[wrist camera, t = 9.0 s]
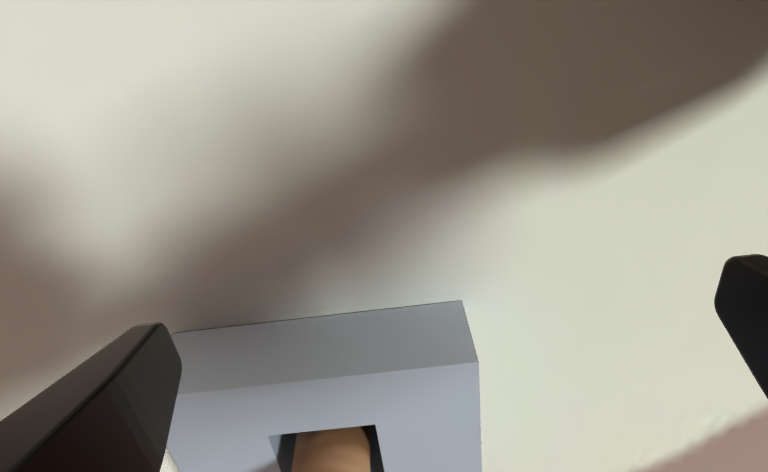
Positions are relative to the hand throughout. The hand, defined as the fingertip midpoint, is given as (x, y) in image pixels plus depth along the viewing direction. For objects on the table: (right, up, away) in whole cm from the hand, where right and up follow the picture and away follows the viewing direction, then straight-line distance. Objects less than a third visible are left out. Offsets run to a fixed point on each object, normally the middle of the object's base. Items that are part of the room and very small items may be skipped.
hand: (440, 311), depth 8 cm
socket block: (-4, -7, +18) cm, 20 cm away
